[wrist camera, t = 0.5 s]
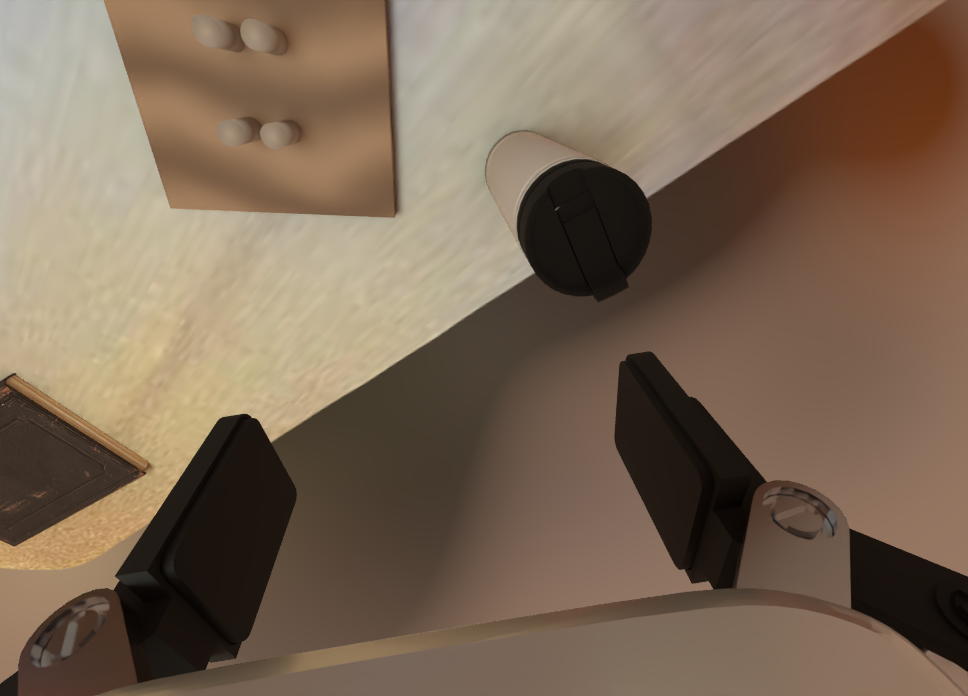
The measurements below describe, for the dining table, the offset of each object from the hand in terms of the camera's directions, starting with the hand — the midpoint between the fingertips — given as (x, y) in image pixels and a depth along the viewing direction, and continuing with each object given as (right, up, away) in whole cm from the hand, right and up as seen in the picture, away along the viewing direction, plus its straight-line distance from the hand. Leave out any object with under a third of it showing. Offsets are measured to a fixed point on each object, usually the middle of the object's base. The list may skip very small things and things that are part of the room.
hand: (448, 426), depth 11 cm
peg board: (-15, +22, +21) cm, 34 cm away
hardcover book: (-53, -11, +38) cm, 66 cm away
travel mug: (+4, +18, +26) cm, 31 cm away
